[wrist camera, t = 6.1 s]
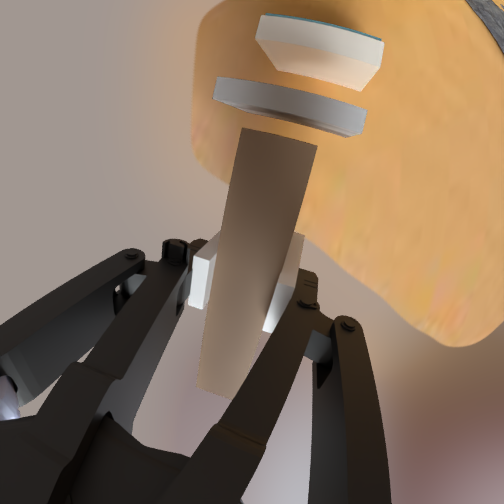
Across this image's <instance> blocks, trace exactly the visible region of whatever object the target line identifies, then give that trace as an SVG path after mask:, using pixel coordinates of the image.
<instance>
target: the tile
mask: <svg viewBox="0 0 504 504" xmlns="http://www.w3.org/2000/svg"><path fill="white" fill-rule="evenodd" d="M255 39H256V41H257V42H258V44H259V45H260V46H261V48H262V49H263V51H264V52H265V53H266V55H267V56H268V58H269V59H270V61H271V62H272V64H273V65H274V67H275V68H276V70H278V71H283V72H289V73H294V74H298V75H303V76H307V77H311V78H316V79H320V80H323V81H327V82H331V83H334V84H338V85H341V86H345V87H348V88H351V89H354V90H357V91H360V92H361V90H362V89H363V88H364V87H365V85H366V84H367V83H368V82H369V81H370V79H371V78H372V77H373V76H374V74H375V73H376V72H377V71H378V69H379V68H380V65H381V60H382V54H383V49H384V42H381V39H380V38H377V37H374V36H371V35H368V34H365V33H362V32H359V31H356V30H352V29H349V28H345V27H341V26H337V25H333V24H329V23H325V22H320V21H315V20H310V19H305V18H299V17H293V16H286V15H279V14H270V13H266V14H265V15H261V18H260V21H259V25H258V28H257V32H256V36H255Z"/></svg>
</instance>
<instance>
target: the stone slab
mask: <svg viewBox="0 0 504 504" xmlns="http://www.w3.org/2000/svg"><path fill="white" fill-rule="evenodd" d="M466 1H467V2H468V3H469V5H470V6H471V7H472V9H473V10H474V11H475V12H476V14H477V15H478V16H479V17H480V18H481V19H482V20H483V22H484V23H485V25H486V26H487V27H488V29H489V30H490V32H491V33H492V35H493V36H494V38H495V39H496V40H497V42H498V44H499V45H500V47H501V49H502V51H503V53H504V11H503V10H501V9H500V8H499V7H498V6H497V5H496V4H495V3H494V2H493V1H492V0H466ZM501 6H502V7H503V9H504V6H503V5H501Z"/></svg>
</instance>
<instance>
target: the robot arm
mask: <svg viewBox="0 0 504 504" xmlns="http://www.w3.org/2000/svg"><path fill="white" fill-rule="evenodd" d="M220 232H221V230H220V231H219V232H218V233H217V234H216V235H215V236H214V237H213V238H212V239H211V240H210V241H207V240H203V239H197V240H194V241H192V242H191V243H190V244H189V243H187V242H186V241H184V240H180V239H168V240H165V241H164V242H163V245H162V258H161V260H160V261H159V262H154V261H147V260H145V254H144V252H143V251H141V250H138V249H133V248H130V249H125V250H122V251H120V252H118V253H117V254H115V255H113V256H111V257H110V258H107V259H106V260H104V261H102V262H100V263H99V264H97V265H95V266H93V267H92V268H90V269H88V270H86V271H85V272H83V273H81V274H80V275H78V276H76V277H74V278H73V279H71V280H69V281H68V282H66V283H64V284H63V285H62V286H60V287H58V288H56V289H55V290H53V291H51V292H50V293H48V294H47V295H45V296H44V297H42V298H41V299H39V300H37V301H36V302H34V303H33V304H31V305H30V306H28V307H27V308H25V309H24V310H22V311H21V312H19V313H18V314H16V315H15V316H13V317H12V318H10V319H9V320H7V321H6V322H5V323H3V324H2V325H0V504H244V503H243V502H242V500H241V497H242V495H243V494H244V492H245V490H246V488H247V486H248V484H249V482H250V480H251V478H252V477H253V475H254V473H255V471H256V469H257V467H258V465H259V463H260V461H261V459H262V457H263V454H264V452H265V449H266V444H267V442H268V439H269V437H270V435H271V433H272V431H273V428H274V426H275V424H276V422H277V420H278V417H279V415H280V413H281V410H282V408H283V406H284V403H285V401H286V399H287V396H288V394H289V391H290V389H291V386H292V384H293V382H294V379H295V376H296V374H297V371H298V369H299V366H300V364H301V361H302V358H303V356H306V357H308V358H309V359H311V360H313V363H312V372H313V402H312V403H313V404H312V444H311V465H310V481H309V494H308V504H392V503H391V491H390V478H389V467H388V458H387V451H386V443H385V437H384V429H383V423H382V417H381V411H380V406H379V400H378V395H377V390H376V385H375V380H374V375H373V371H372V366H371V362H370V357H369V353H368V349H367V345H366V341H365V337H364V333H363V329H362V327H361V325H360V324H359V323H358V321H356V320H355V319H353V318H352V317H348V316H343V315H342V316H338V317H336V318H335V320H332V319H330V318H328V317H327V316H325V315H324V314H322V313H321V312H320V306H319V304H318V302H317V292H318V277H317V276H316V274H315V273H314V272H310V271H307V270H304V269H300V268H299V264H300V259H301V253H302V248H303V242H304V237H305V235H303V234H299V233H296V232H293V236H292V239H291V242H290V246H289V249H288V252H287V256H286V259H285V262H284V265H283V269H282V272H281V273H280V276H279V279H278V282H277V285H276V288H275V292H274V295H273V298H272V301H271V304H270V307H269V310H268V313H267V317H266V320H265V323H264V326H263V329H262V330H263V331H266V332H269V333H272V334H271V336H270V338H269V340H268V341H267V343H266V345H265V347H264V348H263V350H262V352H261V354H260V355H259V357H258V359H257V360H256V362H255V364H254V365H253V367H252V369H251V370H250V372H249V374H248V375H247V377H246V379H245V380H244V382H243V384H242V385H241V387H240V389H239V390H238V392H237V394H236V395H235V397H234V398H233V400H232V402H231V403H230V405H229V406H228V408H227V409H226V411H225V413H224V414H223V416H222V417H221V419H220V420H219V422H218V423H217V424H215V425H214V426H213V427H212V428H211V429H210V430H209V432H208V433H207V435H206V436H205V438H204V439H203V441H202V442H201V443H200V445H199V446H198V448H197V449H196V451H195V452H194V453H193V455H192V456H191V458H190V457H187V456H184V455H182V454H177V453H173V452H167V451H163V450H158V449H154V448H150V447H146V446H144V445H142V444H141V443H140V442H139V441H137V440H136V439H135V438H134V437H133V436H132V435H131V434H132V427H133V421H134V418H135V416H136V413H137V411H138V408H139V406H140V404H141V401H142V399H143V397H144V395H145V392H146V390H147V388H148V385H149V383H150V381H151V379H152V376H153V374H154V372H155V370H156V368H157V365H158V363H159V361H160V359H161V357H162V354H163V352H164V350H165V348H166V346H167V343H168V341H169V339H170V337H171V335H172V333H173V331H174V329H175V327H176V324H177V322H178V320H179V318H180V316H181V314H182V312H183V310H184V302H185V300H186V299H187V298H188V296H189V300H188V305H190V306H193V307H196V308H198V309H201V310H203V308H204V307H205V305H206V304H207V302H208V301H209V297H210V291H211V285H212V279H213V273H214V267H215V261H216V256H217V249H218V243H219V238H220ZM118 285H119V286H120V290H118V291H117V292H116V291H115V288H116V287H117V286H118ZM92 347H94V348H93V349H92V351H91V352H90V353H89V355H88V356H87V358H86V359H85V360H84V362H82V363H80V362H77V361H78V360H79V359H80V358H81V357H82V356H83V355H84V354H86V353H87V352H88V351H89V350H90V349H91V348H92ZM61 375H62V376H61ZM59 376H61V377H60V378H59ZM57 378H59V380H58V381H57V383H56V384H55V386H54V387H53V389H52V390H51V392H50V394H49V395H48V397H47V398H46V400H45V401H44V403H43V405H42V406H41V408H40V409H39V411H38V413H37V414H36V415H33V416H28V417H22V418H20V411H19V410H18V408H19V407H21V406H23V405H25V404H27V403H28V402H30V401H31V400H33V399H35V398H36V397H37V396H38V395H39V394H41V393H42V392H43V391H44V390H45V389H46V388H47V387H49V386H50V385H51V384H52V383H53V382H54V381H55V380H56V379H57Z"/></svg>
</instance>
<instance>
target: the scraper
mask: <svg viewBox="0 0 504 504" xmlns="http://www.w3.org/2000/svg"><path fill="white" fill-rule="evenodd" d="M212 99H214V100H217V101H220V102H222V103H225V104H228V105H230V106H233V107H235V108H238V109H240V110H243V111H245V112H248V113H252V114H257V115H262V116H267V117H272V118H276V119H281V120H285V121H289V122H293V123H297V124H301V125H305V126H308V127H312V128H316V129H319V130H323V131H326V132H329V133H333V134H336V135H339V136H342V137H345V138H346V137H350V136H355V135H359V134H362V131H363V127H364V123H365V119H366V115H367V110H366V109H363V108H360V107H357V106H354V105H351V104H348V103H345V102H342V101H338V100H335V99H331V98H328V97H324V96H321V95H317V94H313V93H309V92H305V91H301V90H297V89H292V88H288V87H283V86H278V85H273V84H267V83H261V82H255V81H249V80H242V79H234V78H226V77H217V81H216V85H215V89H214V93H213V98H212ZM316 150H317V145H313V144H310V143H306V142H302V141H299V140H295V139H291V138H287V137H283V136H279V135H275V134H271V133H266V132H261V131H257V130H252V129H246V128H242V130H241V134H240V139H239V143H238V148H237V153H236V157H235V162H234V167H233V172H232V176H231V181H230V186H229V191H228V196H227V201H226V206H225V211H224V216H223V222H222V227H221V232H220V238H219V243H218V249H217V256H216V261H215V267H214V273H213V279H212V285H211V291H210V297H209V301H208V308H207V314H206V320H205V327H204V334H203V340H202V347H201V354H200V361H199V369H198V376H197V384H196V387H198V388H200V389H203V390H205V391H208V392H211V393H214V394H216V395H219V396H222V397H225V398H228V399H231V400H233V398H234V397H235V395H236V394H237V392H238V390H239V389H240V387H241V385H242V384H243V382H244V380H245V379H246V377H247V374H248V371H249V368H250V365H251V363H252V360H253V357H254V354H255V351H256V348H257V345H258V342H259V340H260V337H261V333H262V331H263V330H262V329H263V326H264V323H265V320H266V317H267V313H268V310H269V307H270V304H271V301H272V298H273V295H274V292H275V288H276V285H277V282H278V279H279V276H280V273H281V272H282V269H283V265H284V262H285V259H286V256H287V252H288V249H289V246H290V242H291V239H292V236H293V232H294V229H295V225H296V222H297V219H298V215H299V212H300V208H301V205H302V201H303V198H304V194H305V191H306V187H307V183H308V180H309V176H310V172H311V169H312V165H313V161H314V158H315V154H316Z"/></svg>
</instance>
